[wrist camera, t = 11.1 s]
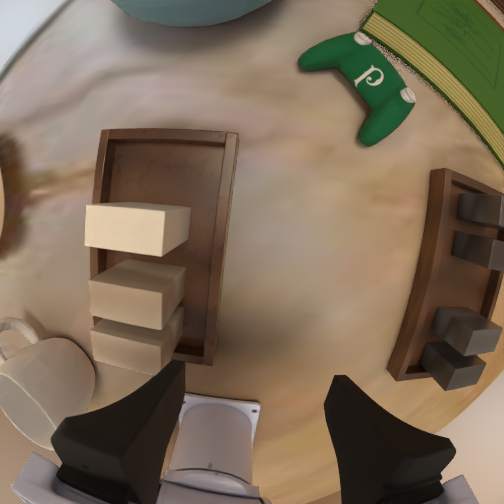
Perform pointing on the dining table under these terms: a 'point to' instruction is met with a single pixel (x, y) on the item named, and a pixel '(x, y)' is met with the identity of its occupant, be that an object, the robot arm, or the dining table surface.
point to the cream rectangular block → (136, 227)
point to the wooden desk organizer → (454, 285)
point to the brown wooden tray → (172, 263)
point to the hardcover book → (450, 55)
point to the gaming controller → (365, 81)
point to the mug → (43, 383)
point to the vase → (188, 10)
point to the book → (499, 4)
